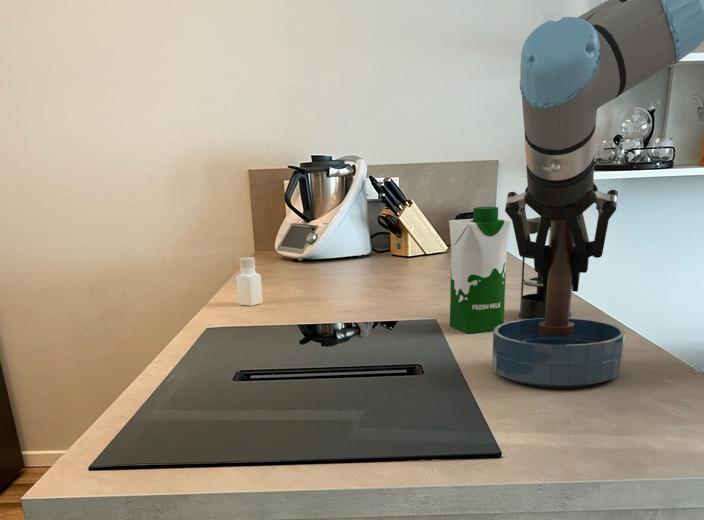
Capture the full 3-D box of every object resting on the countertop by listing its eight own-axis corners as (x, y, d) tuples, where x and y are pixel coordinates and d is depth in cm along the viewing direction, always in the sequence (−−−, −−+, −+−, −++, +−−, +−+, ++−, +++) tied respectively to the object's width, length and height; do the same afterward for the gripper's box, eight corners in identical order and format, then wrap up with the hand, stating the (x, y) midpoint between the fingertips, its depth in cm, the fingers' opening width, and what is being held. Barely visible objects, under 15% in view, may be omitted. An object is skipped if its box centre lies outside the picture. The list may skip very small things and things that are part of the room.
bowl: (612, 358, 115) (616, 317, 112) (628, 392, 99) (633, 346, 97) (493, 357, 118) (494, 317, 116) (490, 390, 103) (492, 345, 100)
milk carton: (464, 335, 132) (467, 210, 124) (442, 325, 140) (443, 207, 132) (511, 330, 134) (517, 207, 126) (486, 320, 142) (490, 204, 134)
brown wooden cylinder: (572, 328, 111) (582, 209, 105) (575, 336, 107) (585, 212, 100) (537, 328, 112) (545, 210, 106) (538, 336, 108) (546, 213, 101)
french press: (575, 321, 139) (586, 182, 130) (521, 322, 140) (528, 184, 131) (565, 308, 150) (574, 179, 141) (515, 309, 151) (521, 181, 142)
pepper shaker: (237, 305, 166) (233, 259, 162) (249, 302, 169) (246, 256, 165) (251, 306, 164) (247, 259, 160) (264, 303, 167) (260, 257, 163)
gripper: (483, 186, 91) (499, 304, 112) (632, 183, 86) (620, 307, 106) (492, 136, 93) (506, 260, 114) (638, 130, 88) (625, 261, 109)
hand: (561, 282), depth 110 cm, fingers closed on brown wooden cylinder, 3 cm apart
